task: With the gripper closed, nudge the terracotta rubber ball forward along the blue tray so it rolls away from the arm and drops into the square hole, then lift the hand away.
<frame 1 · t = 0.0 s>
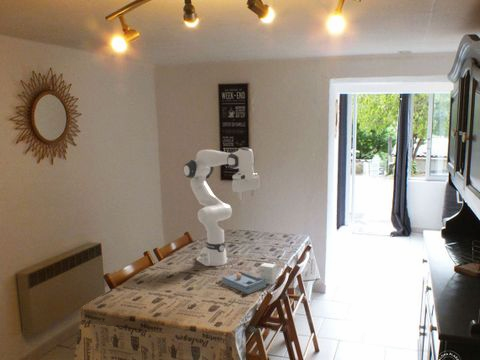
hand: (246, 197, 253), 48 cm above the table, fingers open, 8 cm apart
blue tray: (243, 284, 243), on the table
ball: (239, 276, 246), point 4 cm above the table, touching blue tray
small box: (268, 282, 247), on the table
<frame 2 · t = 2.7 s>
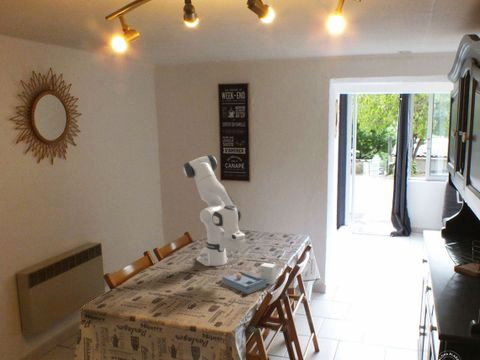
hand: (232, 256, 248), 15 cm above the table, fingers closed
nothing on the table moved.
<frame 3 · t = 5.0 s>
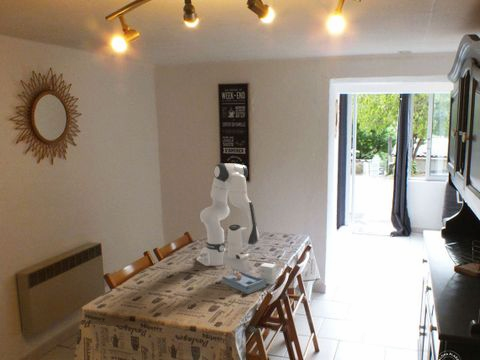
hand: (235, 275, 248), 4 cm above the table, fingers closed
ball: (239, 276, 246), point 4 cm above the table, touching blue tray, gripper
everything else where it was.
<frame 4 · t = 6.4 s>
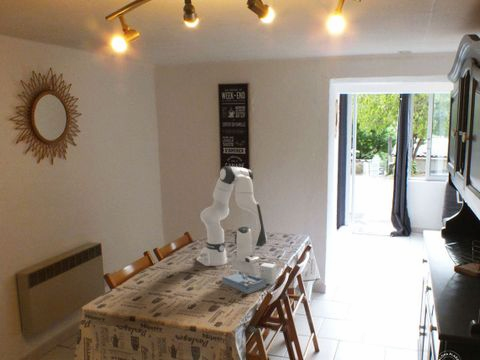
hand: (244, 279, 242), 4 cm above the table, fingers closed
ball: (250, 284, 239), point 2 cm above the table, tilted 15°
everything else where it was.
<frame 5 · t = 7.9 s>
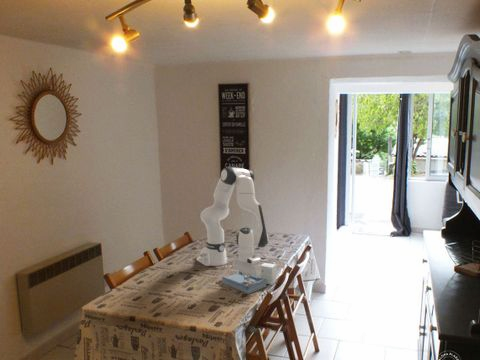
hand: (246, 280, 241), 4 cm above the table, fingers closed
nothing on the table moved.
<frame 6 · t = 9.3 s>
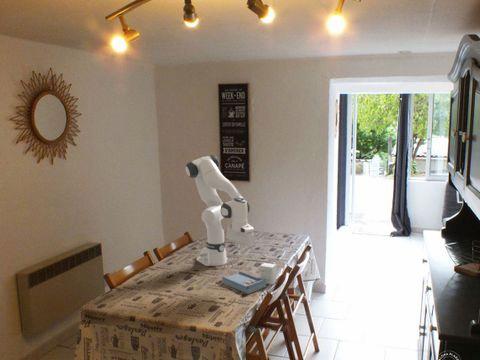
hand: (239, 249, 243), 20 cm above the table, fingers closed
ball: (249, 284, 240), point 2 cm above the table, tilted 27°
everything else where it was.
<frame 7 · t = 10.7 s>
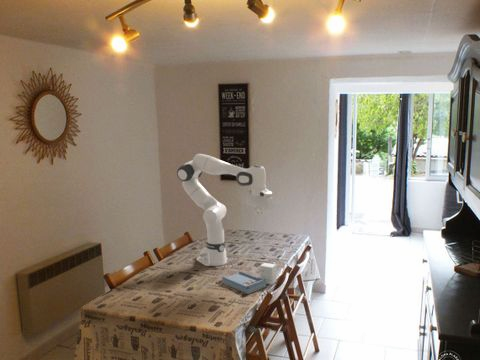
hand: (259, 214, 258), 37 cm above the table, fingers closed
nothing on the table moved.
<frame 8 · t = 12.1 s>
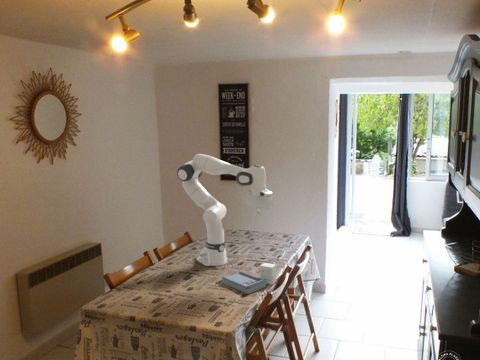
hand: (259, 213, 258), 37 cm above the table, fingers closed
nothing on the table moved.
at the end: ball 0.6 cm from the target spot on the blue tray, point 1.6 cm above the blue tray's base; ball touching table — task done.
